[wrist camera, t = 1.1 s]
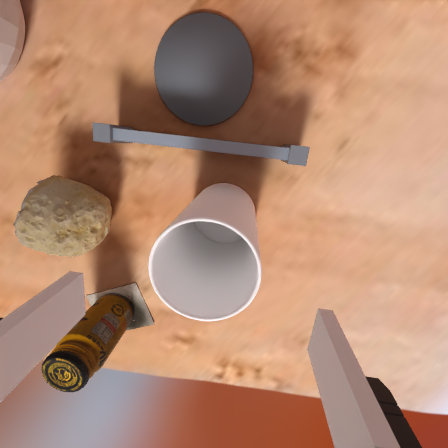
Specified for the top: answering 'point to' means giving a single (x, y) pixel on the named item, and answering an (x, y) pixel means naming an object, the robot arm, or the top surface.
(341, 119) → the top surface
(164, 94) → the slate coaster
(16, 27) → the soap bottle
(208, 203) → the cup
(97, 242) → the beige rough lump
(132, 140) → the grey barrier wall
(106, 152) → the top surface
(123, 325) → the condiment
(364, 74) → the top surface
